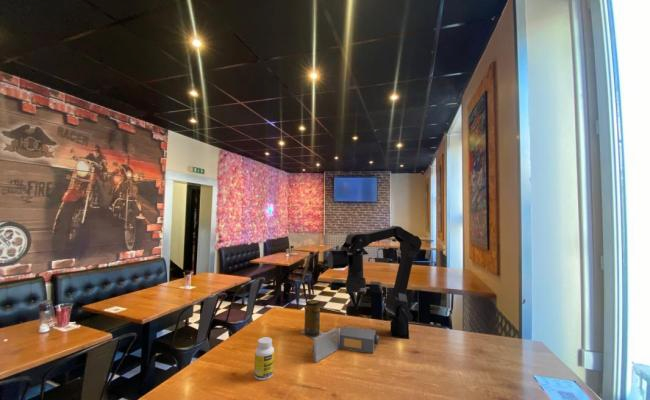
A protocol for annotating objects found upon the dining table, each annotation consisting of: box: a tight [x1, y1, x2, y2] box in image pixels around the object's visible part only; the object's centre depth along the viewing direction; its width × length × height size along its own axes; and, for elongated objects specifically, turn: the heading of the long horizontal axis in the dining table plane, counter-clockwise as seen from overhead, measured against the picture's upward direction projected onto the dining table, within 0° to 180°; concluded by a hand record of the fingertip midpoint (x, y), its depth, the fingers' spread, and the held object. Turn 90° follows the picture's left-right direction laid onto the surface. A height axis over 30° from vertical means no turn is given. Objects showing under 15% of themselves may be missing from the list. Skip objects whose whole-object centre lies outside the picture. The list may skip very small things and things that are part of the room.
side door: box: [311, 327, 339, 363], centre depth 88 cm, size 11×2×7 cm, turn 139°
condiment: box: [299, 299, 325, 340], centre depth 105 cm, size 7×8×12 cm
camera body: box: [336, 325, 380, 354], centre depth 95 cm, size 14×9×7 cm
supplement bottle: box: [253, 336, 275, 381], centre depth 77 cm, size 5×5×10 cm
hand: (356, 309), depth 99 cm, fingers closed
